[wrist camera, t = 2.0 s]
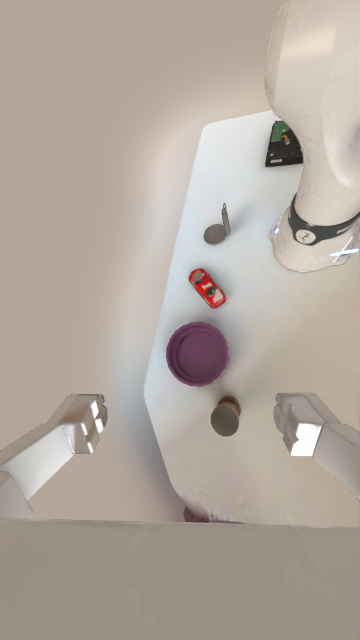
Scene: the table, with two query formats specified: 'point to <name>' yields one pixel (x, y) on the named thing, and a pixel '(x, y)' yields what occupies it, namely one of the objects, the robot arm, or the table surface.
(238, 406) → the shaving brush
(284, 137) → the disk drive
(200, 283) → the race car
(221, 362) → the bowl
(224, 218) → the pocket watch
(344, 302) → the table surface
